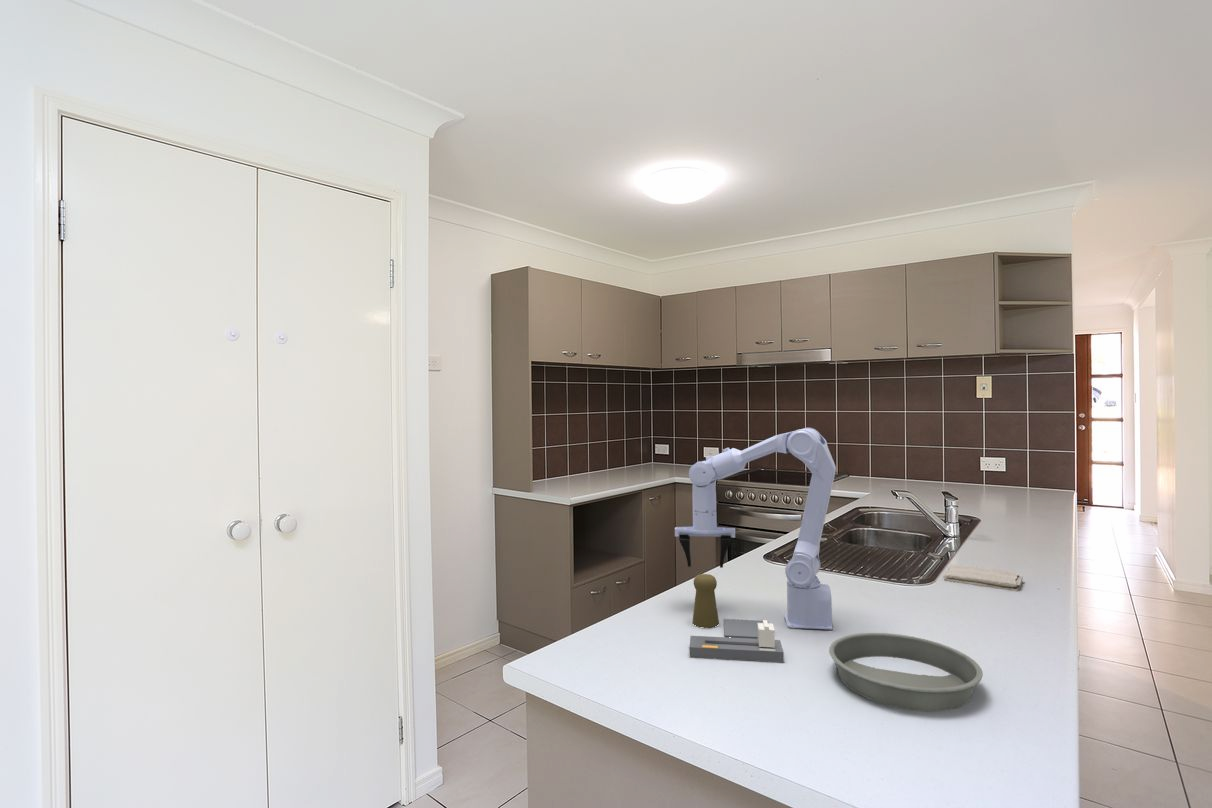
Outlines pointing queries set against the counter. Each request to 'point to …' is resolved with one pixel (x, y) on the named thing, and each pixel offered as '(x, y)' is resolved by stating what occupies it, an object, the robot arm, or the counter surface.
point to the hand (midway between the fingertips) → (705, 566)
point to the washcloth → (983, 577)
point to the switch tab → (766, 634)
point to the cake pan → (906, 686)
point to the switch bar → (734, 649)
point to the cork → (705, 601)
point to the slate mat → (741, 628)
